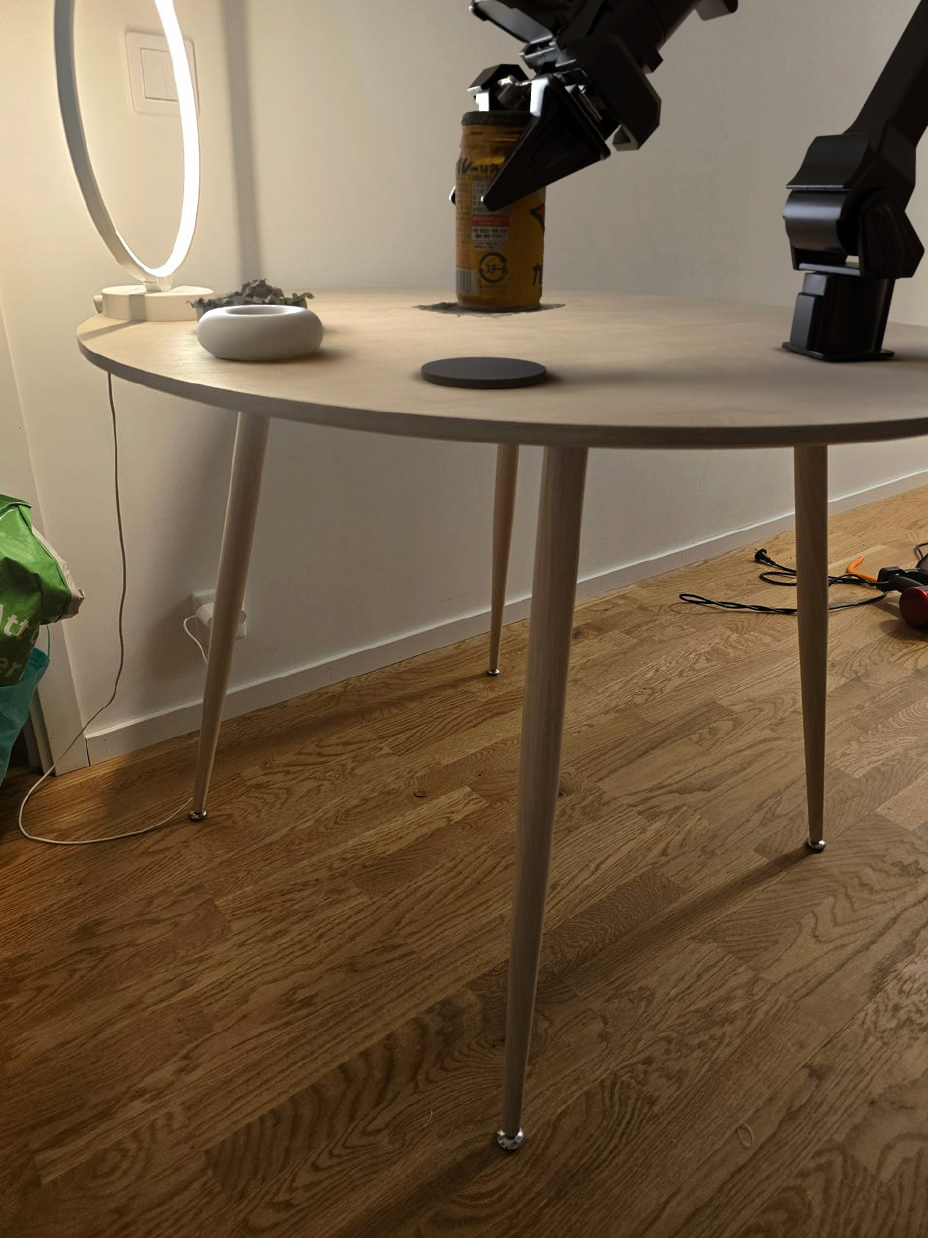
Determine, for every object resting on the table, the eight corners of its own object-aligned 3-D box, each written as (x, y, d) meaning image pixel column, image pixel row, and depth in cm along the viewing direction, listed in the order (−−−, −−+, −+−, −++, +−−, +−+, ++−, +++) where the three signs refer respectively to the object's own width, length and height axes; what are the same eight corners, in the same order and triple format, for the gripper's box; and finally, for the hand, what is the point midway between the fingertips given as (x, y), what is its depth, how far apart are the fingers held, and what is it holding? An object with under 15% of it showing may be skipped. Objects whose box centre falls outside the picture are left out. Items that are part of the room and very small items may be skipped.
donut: (241, 342, 77) (172, 358, 69) (238, 300, 76) (167, 311, 67) (345, 349, 74) (287, 366, 66) (343, 306, 73) (283, 318, 64)
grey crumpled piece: (270, 320, 90) (266, 277, 88) (323, 327, 86) (321, 281, 84) (183, 331, 82) (177, 284, 80) (238, 339, 78) (233, 289, 76)
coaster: (524, 362, 68) (524, 354, 68) (564, 385, 61) (564, 376, 60) (410, 366, 66) (410, 358, 66) (435, 391, 59) (435, 381, 58)
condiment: (566, 307, 62) (575, 111, 57) (496, 321, 56) (499, 103, 51) (484, 300, 66) (485, 116, 61) (410, 311, 60) (404, 110, 55)
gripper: (495, -68, 60) (347, 114, 62) (630, -158, 45) (427, 90, 46) (592, 70, 66) (454, 234, 68) (741, 34, 50) (557, 248, 52)
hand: (469, 205), depth 58 cm, fingers closed on condiment, 6 cm apart
